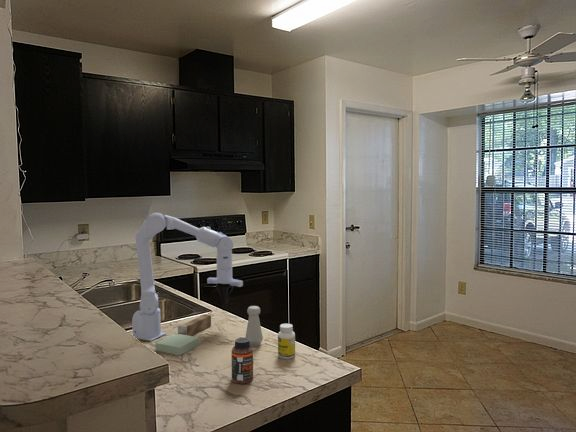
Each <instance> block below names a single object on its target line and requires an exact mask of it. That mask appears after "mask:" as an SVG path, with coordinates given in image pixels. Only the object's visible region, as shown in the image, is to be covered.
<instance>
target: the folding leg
mask: <svg viewBox="0 0 576 432" xmlns="http://www.w3.org/2000/svg"><path fill="white" fill-rule="evenodd" d="M211 326H212V315H211V314H202V315H200V316H198V317H196V318H193V319H191V320H189V321H187V322H185V323H183V324H180V325H177V334H183V335H188V336H194V335H195V334H198V333H199V332H202V331H204V330H206V329H207V328H209V327H211Z"/></svg>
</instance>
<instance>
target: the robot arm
mask: <svg viewBox="0 0 576 432" xmlns="http://www.w3.org/2000/svg"><path fill="white" fill-rule="evenodd" d="M164 229H166V230H174V229H175V230H178V231H180V232H183V233H186V234H189V235H192V236H195V238H196V241H197V242H199V243H201V244H203V245H206V246H209V247H212V248H216V277H211V276H210V277H208V278H207V279H206V281H207V283H206V284H214V285H215V284H216V286H215V289H216V291H217V293H218V295H219V297H220V300H221V301H220V302H221V304H222V305H228V304H229V300H230V296H231V293H232V291H233V289H234V288H235V287H238V288H241V287H243V286H244V281H243V280H241V279H235V278H233V255H232V254H233V248H234V243H233V240H232V239H231V238H230V237H229V236H227V235H226V234H224V233H223V232H221V231H219V232H218V231H215V230H213V229H211V227H210V226H202V227H197V226H194V225H192V224H190V223H188V222H186V221H183V220H182V219H179V218H178V217H175V216H170V215H168V214H163V213H161V212H152V213H151V214H150V215H149V216H148V217H146V218H145V219H144V221H143V223H142V224H141V226H140V228H139V229H138V232H137V233H136V236H135V245H136V255H137V263H138V272H139V281H140V302H139V309H138V310H136V311H135V312H134V313H133V316H132V319H131V320H132V322H131V323H132V325H131V326H132V335H133V336H135V337H136V338H135V339H139V340H145V341H149V342H152V341H154V340H157V339H159V338H161V337H163V336H165V335H167V332H165V331H162V326H161V325H162V323H161V308H160V307H159V305H160V304H159V295H158V293H157V292H156V289H155V287H156V286H155V280H154V279H155V278H154V271H153V263H152V261H153V260H152V254H151V253H152V252H151V245H150V244H151V243H150V241H151V240H152V239H153V238H154V236H156V235H157V234H159V233H161V232H162V231H164Z"/></svg>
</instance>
